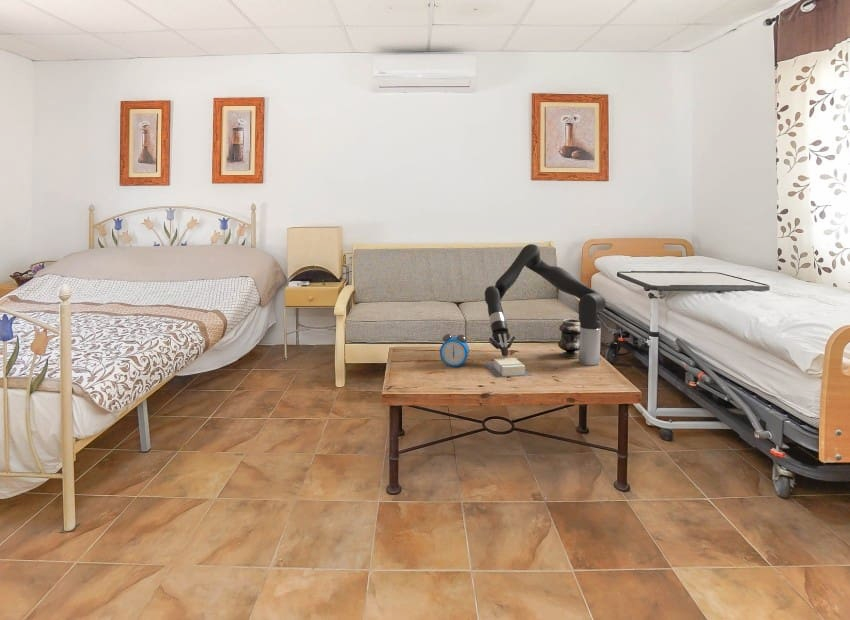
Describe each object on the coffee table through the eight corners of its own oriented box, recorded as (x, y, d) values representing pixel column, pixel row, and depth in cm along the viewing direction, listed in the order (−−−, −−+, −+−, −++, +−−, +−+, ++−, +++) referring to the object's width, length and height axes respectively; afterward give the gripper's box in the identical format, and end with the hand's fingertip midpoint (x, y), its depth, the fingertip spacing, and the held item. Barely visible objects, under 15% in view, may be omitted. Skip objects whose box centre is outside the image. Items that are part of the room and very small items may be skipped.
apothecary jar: (585, 359, 256) (587, 322, 253) (560, 359, 257) (562, 322, 253) (579, 352, 268) (580, 317, 265) (555, 352, 269) (556, 317, 265)
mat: (483, 364, 249) (483, 363, 249) (516, 362, 251) (516, 361, 251) (496, 378, 228) (496, 377, 228) (532, 376, 230) (532, 375, 230)
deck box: (494, 358, 242) (502, 367, 228) (515, 357, 243) (525, 365, 230) (493, 367, 243) (502, 376, 229) (515, 366, 244) (525, 375, 230)
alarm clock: (439, 366, 246) (439, 335, 243) (442, 362, 252) (441, 332, 249) (467, 368, 243) (467, 336, 240) (469, 364, 249) (469, 333, 246)
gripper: (510, 327, 254) (517, 359, 245) (483, 328, 253) (489, 360, 243) (513, 319, 248) (521, 351, 239) (486, 320, 246) (493, 352, 237)
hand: (505, 355), depth 241 cm, fingers closed
